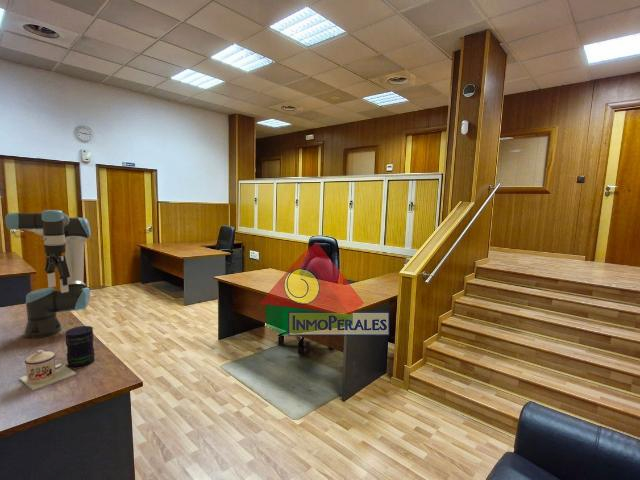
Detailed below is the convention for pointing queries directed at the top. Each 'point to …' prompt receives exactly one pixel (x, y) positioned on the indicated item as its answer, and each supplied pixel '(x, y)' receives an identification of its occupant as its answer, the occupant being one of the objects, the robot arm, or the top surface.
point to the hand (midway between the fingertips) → (58, 289)
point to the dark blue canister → (80, 346)
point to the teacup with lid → (41, 366)
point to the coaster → (60, 375)
